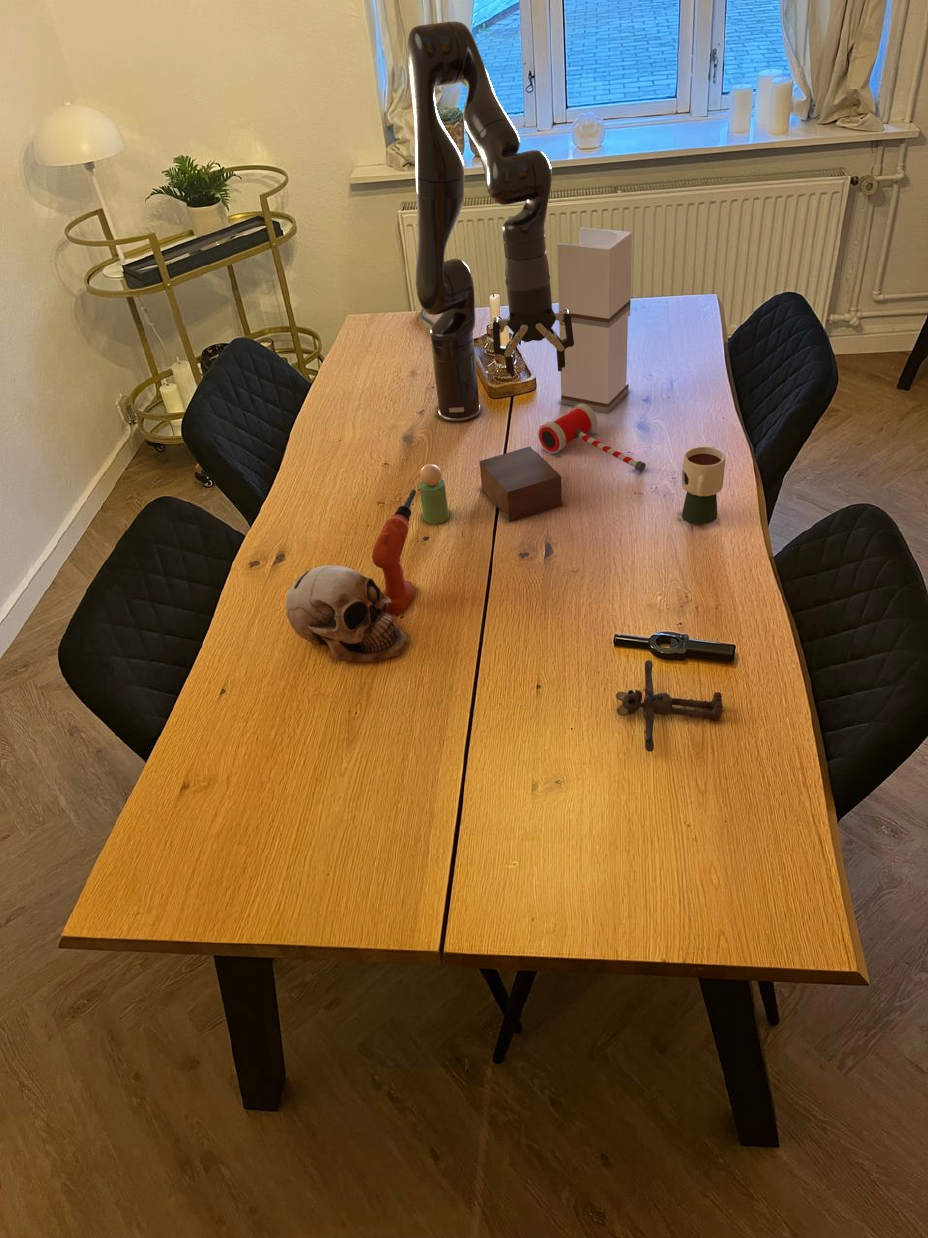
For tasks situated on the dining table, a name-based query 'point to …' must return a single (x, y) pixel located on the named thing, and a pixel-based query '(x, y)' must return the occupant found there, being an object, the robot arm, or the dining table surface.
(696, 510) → the character mug
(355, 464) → the dining table surface
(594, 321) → the beige tall block
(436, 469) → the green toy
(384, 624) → the coin bank
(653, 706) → the bear figurine
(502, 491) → the walnut block
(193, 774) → the dining table surface
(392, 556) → the toy drill
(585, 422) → the toy hammer
